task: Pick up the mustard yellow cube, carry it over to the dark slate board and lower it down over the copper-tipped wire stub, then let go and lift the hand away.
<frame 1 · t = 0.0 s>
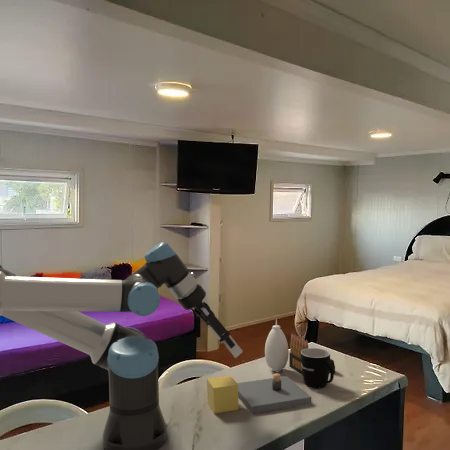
hand: (231, 347, 125), 15 cm above the table, tool tilted 35°, fingers open, 13 cm apart
mustard yellow cube: (222, 406, 121), on the table
air blower bulb: (276, 371, 147), on the table
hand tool: (318, 366, 151), on the table
mug: (318, 387, 134), on the table
ammunition clip: (299, 372, 146), on the table
board: (270, 396, 127), on the table
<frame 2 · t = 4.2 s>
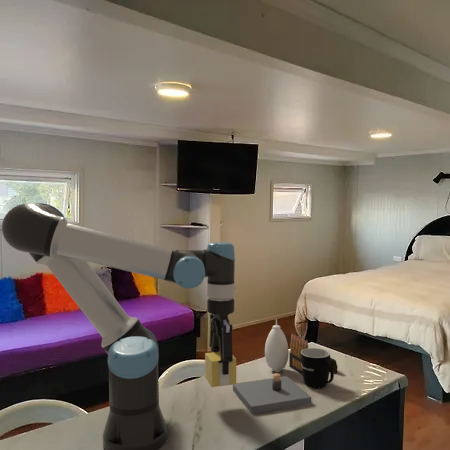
hand: (220, 379, 121), 8 cm above the table, tool pointing down, fingers closed on mustard yellow cube, 7 cm apart
mustard yellow cube: (220, 380, 121), point 7 cm above the table, touching gripper
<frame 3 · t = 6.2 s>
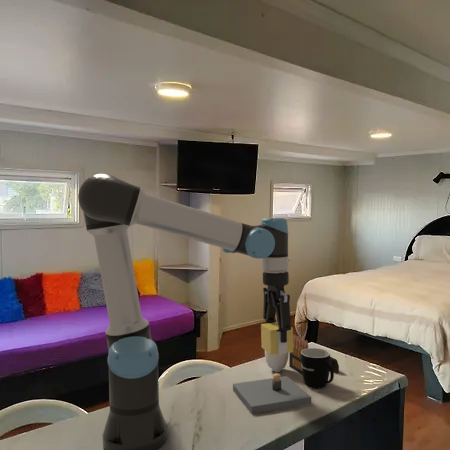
hand: (276, 348, 127), 14 cm above the table, tool pointing down, fingers closed on mustard yellow cube, 7 cm apart
mustard yellow cube: (277, 349, 127), point 14 cm above the table, touching gripper
everything else where it was.
when the fingers open (3 cm above the table, at t = 8.6 s): mustard yellow cube stays where it is, resting on board.
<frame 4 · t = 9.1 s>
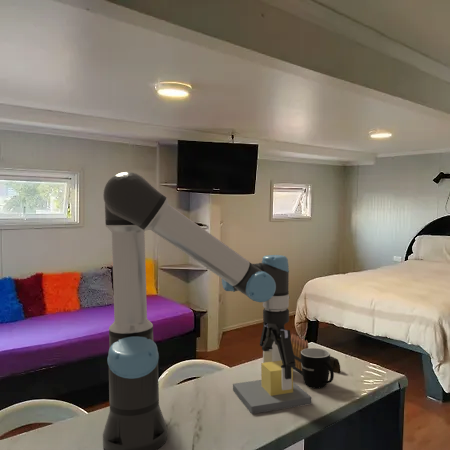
hand: (276, 380, 127), 5 cm above the table, tool pointing down, fingers open, 13 cm apart
mustard yellow cube: (277, 389, 127), point 2 cm above the table, touching board
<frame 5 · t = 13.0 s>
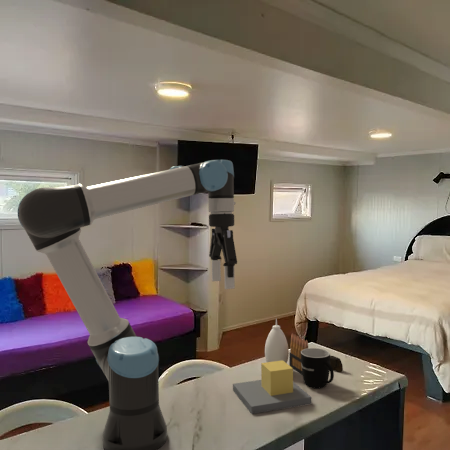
hand: (222, 284, 128), 33 cm above the table, tool pointing down, fingers open, 13 cm apart
at the end: mustard yellow cube 0.1 cm from the target spot on the board, point 2.0 cm above the board's base; mustard yellow cube tilted 0°; the gripper is holding nothing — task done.
